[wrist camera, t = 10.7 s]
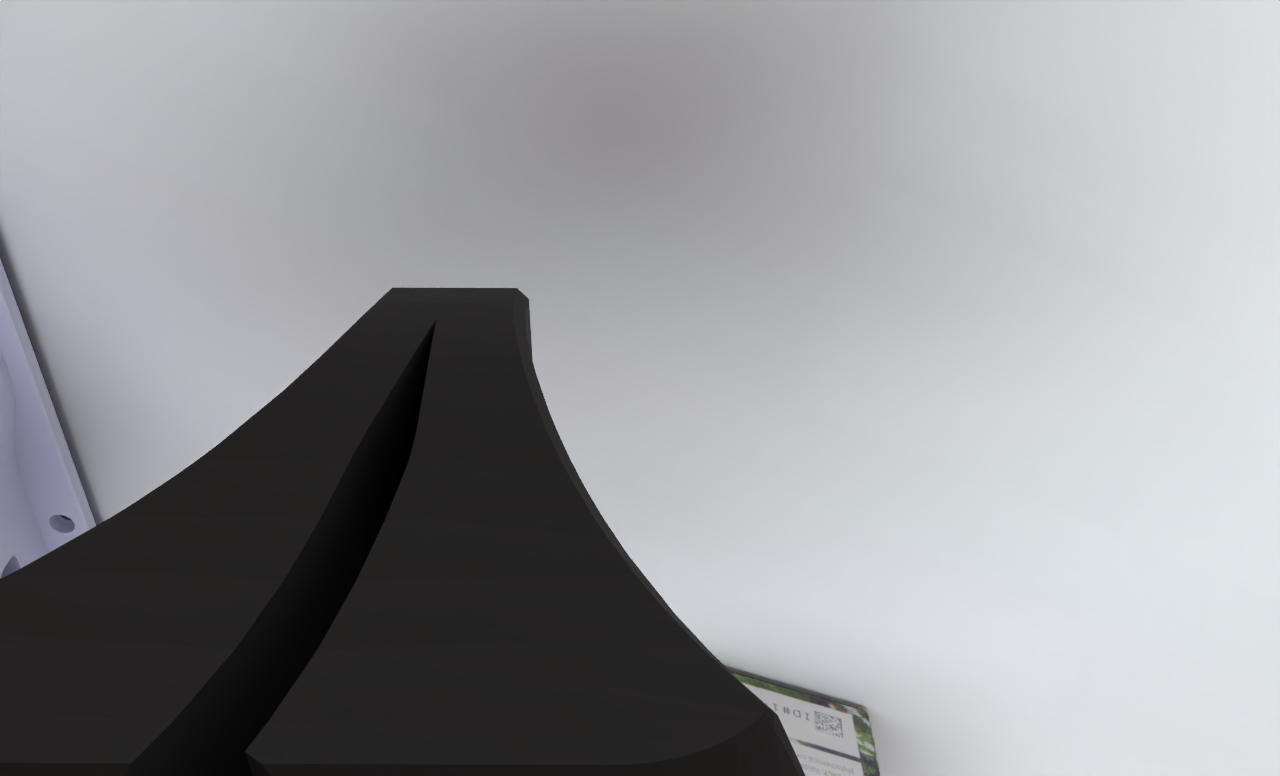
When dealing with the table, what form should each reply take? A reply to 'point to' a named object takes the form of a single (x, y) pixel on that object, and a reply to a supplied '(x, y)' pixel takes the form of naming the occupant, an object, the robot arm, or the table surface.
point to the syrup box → (821, 731)
